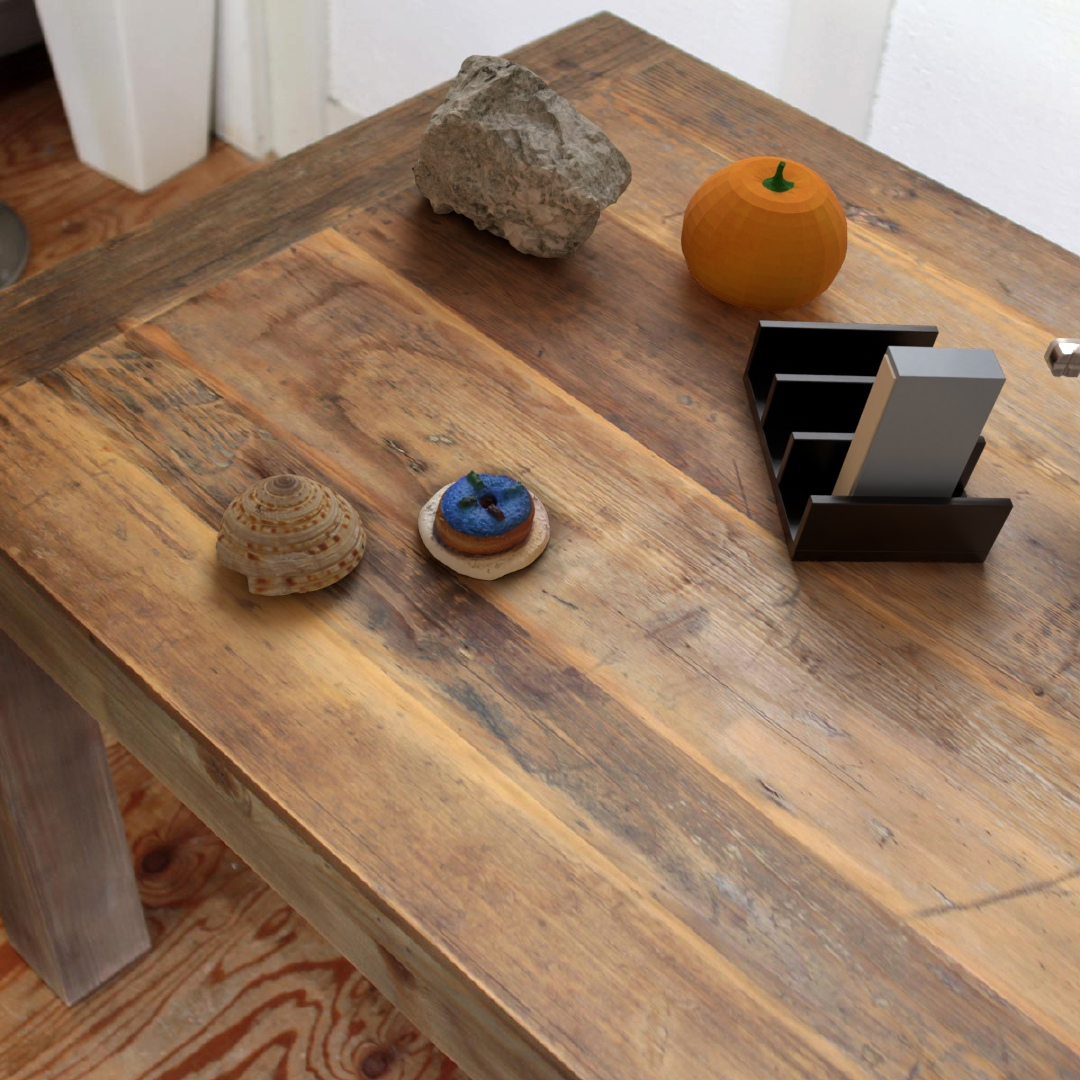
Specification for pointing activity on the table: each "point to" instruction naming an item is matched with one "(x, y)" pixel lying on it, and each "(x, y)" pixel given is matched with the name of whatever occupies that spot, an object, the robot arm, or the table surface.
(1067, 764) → the table surface
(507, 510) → the dessert
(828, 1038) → the table surface
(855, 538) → the rack
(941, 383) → the grey rectangular block
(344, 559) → the seashell
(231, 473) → the table surface
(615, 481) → the table surface
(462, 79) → the stone
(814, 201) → the fruit
